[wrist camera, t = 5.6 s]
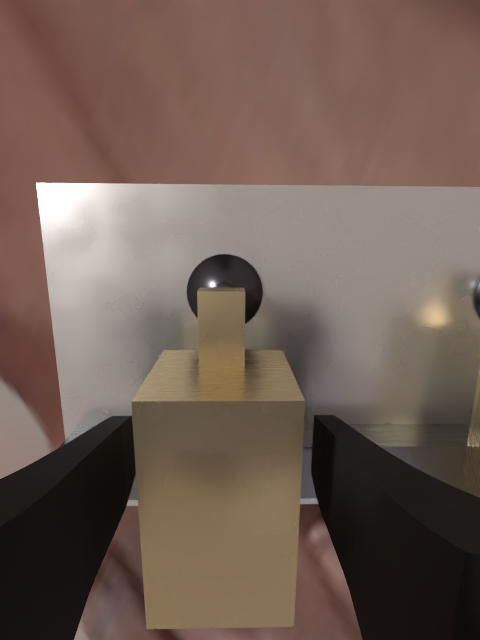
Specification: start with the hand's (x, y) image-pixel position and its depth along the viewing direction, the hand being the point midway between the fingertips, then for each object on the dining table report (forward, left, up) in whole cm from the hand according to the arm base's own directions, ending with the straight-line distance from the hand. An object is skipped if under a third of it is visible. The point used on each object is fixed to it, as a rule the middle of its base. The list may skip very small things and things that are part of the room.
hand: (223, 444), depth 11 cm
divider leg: (+1, 0, -2) cm, 2 cm away
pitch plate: (+2, -4, -4) cm, 6 cm away
